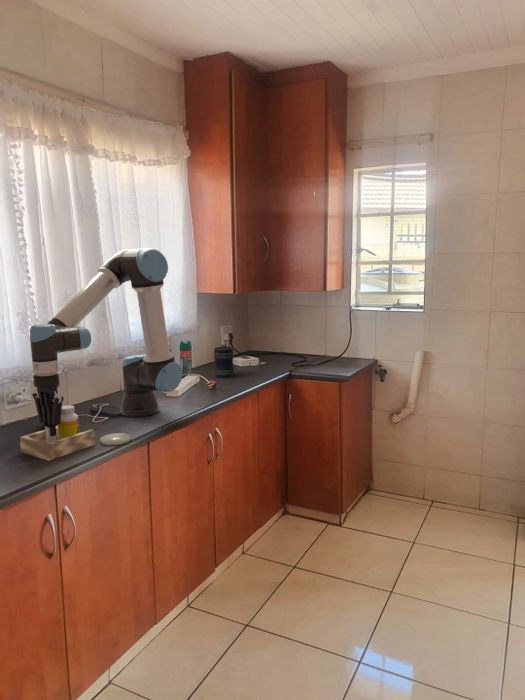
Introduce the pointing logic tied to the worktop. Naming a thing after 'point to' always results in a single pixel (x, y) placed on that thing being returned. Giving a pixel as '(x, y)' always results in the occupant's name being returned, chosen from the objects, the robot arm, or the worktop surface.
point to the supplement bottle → (68, 423)
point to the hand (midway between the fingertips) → (51, 445)
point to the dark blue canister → (223, 362)
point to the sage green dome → (115, 439)
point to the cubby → (55, 444)
